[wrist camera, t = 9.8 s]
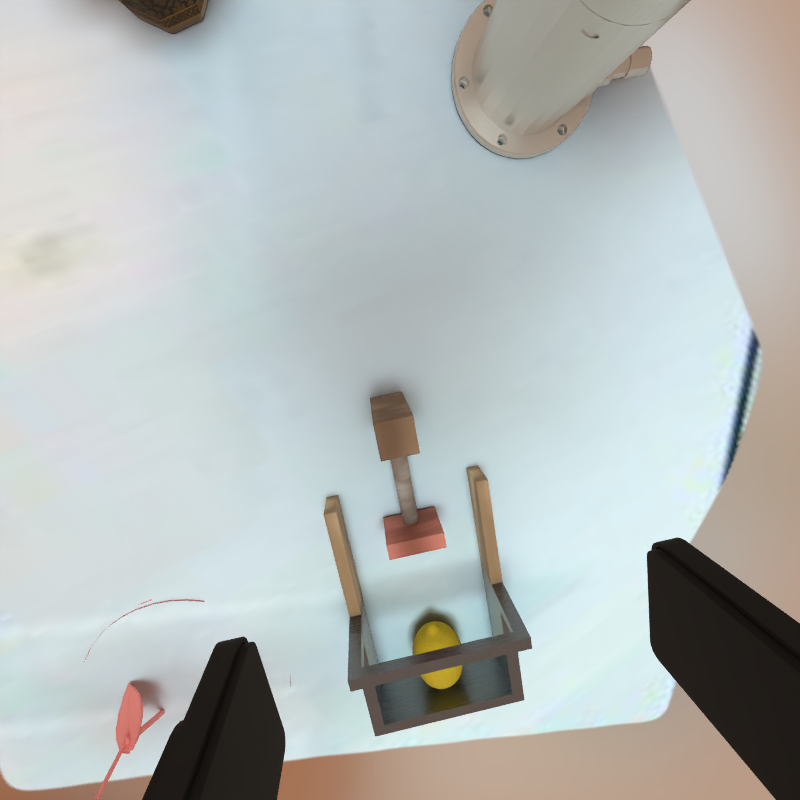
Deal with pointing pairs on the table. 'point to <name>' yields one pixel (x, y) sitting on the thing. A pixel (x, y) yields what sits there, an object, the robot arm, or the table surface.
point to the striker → (403, 480)
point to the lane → (483, 529)
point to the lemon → (434, 639)
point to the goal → (419, 702)
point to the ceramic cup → (168, 12)
